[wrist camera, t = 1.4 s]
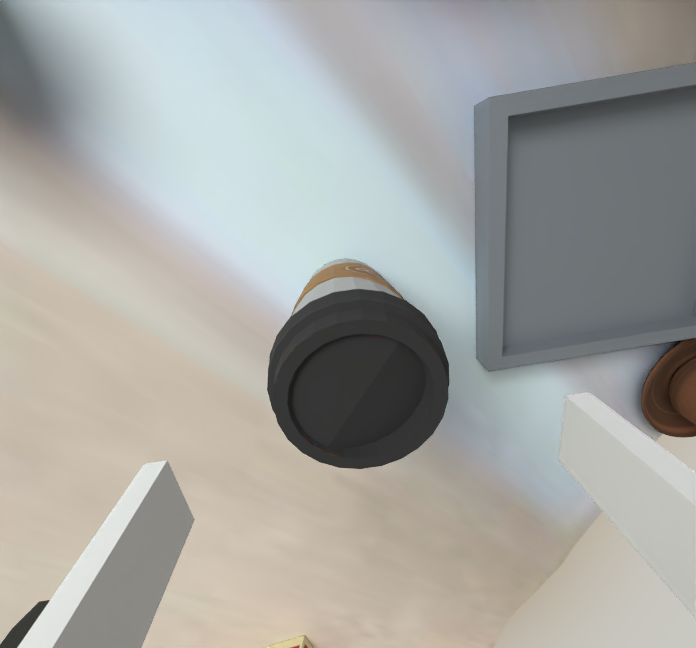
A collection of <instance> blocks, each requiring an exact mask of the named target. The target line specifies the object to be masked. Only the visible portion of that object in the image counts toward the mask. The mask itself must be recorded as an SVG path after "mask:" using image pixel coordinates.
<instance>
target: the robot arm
mask: <svg viewBox="0 0 696 648" xmlns="http://www.w3.org/2000/svg"><path fill="white" fill-rule="evenodd" d="M559 462H560V463H561V464H562V465H563V466H564V468H565V469H566V470H567V471H568V472H569V473H570V474H571V476H572V477H573V478H574V479H575V480H576V481H577V483H578V484H579V485H580V486H581V487H582V488H583V489H584V491H585V492H586V493H587V494H588V495H589V496H590V498H591V499H592V500H593V501H594V502H595V503H596V504H597V506H598V507H599V508H600V509H601V510H602V511H603V512H604V514H605V515H606V516H607V517H608V518H609V519H610V521H611V522H612V523H613V524H614V525H615V526H616V527H617V529H619V531H620V532H621V533H622V534H623V535H624V537H625V538H626V539H627V540H628V541H629V542H630V543H631V545H632V546H633V547H634V548H635V549H636V550H637V552H638V553H639V554H640V555H641V556H642V557H643V558H644V560H645V561H646V562H647V563H648V564H649V565H650V567H651V568H652V569H653V570H654V571H655V572H656V573H657V575H658V576H659V577H660V578H661V579H662V580H663V582H664V583H665V584H666V585H667V586H668V587H669V588H670V590H671V591H672V592H673V593H674V594H675V595H676V597H677V598H678V599H679V600H680V601H681V602H682V603H683V605H684V606H685V607H686V608H687V609H688V610H689V611H690V613H691V614H692V615H693V616H694V617H695V618H696V472H695V471H693V470H692V469H691V468H690V467H688V466H687V465H685V464H684V463H683V462H682V461H680V460H679V459H678V458H676V457H675V456H674V455H672V454H671V453H670V452H668V451H667V450H666V449H664V448H663V447H661V446H660V445H659V444H657V443H656V442H655V441H654V440H652V439H651V438H650V437H648V436H647V435H646V434H644V433H643V432H642V431H640V430H639V429H638V428H636V427H635V426H634V425H632V424H631V423H630V422H628V421H627V420H626V419H624V418H623V417H622V416H620V415H619V414H618V413H616V412H615V411H614V410H612V409H611V408H610V407H608V406H607V405H606V404H604V403H603V402H602V401H600V400H599V399H598V398H596V397H595V396H594V395H592V394H591V393H590V392H584V393H578V394H572V395H566V396H565V403H564V413H563V423H562V433H561V443H560V453H559ZM193 522H194V518H193V515H192V513H191V511H190V509H189V507H188V504H187V502H186V500H185V498H184V496H183V493H182V491H181V489H180V487H179V485H178V483H177V480H176V478H175V476H174V474H173V472H172V469H171V467H170V465H169V463H168V461H167V460H166V461H159V462H153V463H147V464H144V465H143V467H142V468H141V469H140V471H139V472H138V474H137V475H136V477H135V478H134V480H133V481H132V482H131V484H130V485H129V487H128V488H127V490H126V491H125V493H124V494H123V495H122V497H121V498H120V500H119V501H118V503H117V504H116V506H115V507H114V509H113V510H112V511H111V513H110V514H109V516H108V517H107V519H106V520H105V522H104V523H103V524H102V526H101V527H100V529H99V530H98V532H97V533H96V535H95V536H94V537H93V539H92V540H91V542H90V543H89V545H88V546H87V548H86V549H85V550H84V552H83V553H82V555H81V556H80V558H79V559H78V561H77V562H76V563H75V565H74V566H73V568H72V569H71V571H70V572H69V574H68V575H67V577H66V578H65V579H64V581H63V582H62V584H61V585H60V587H59V588H58V590H57V591H56V592H55V594H54V595H53V597H52V598H51V600H47V601H41V602H39V603H38V604H37V605H36V606H34V607H33V608H32V609H31V610H30V611H29V612H28V613H27V614H26V615H25V616H24V617H23V618H22V619H21V620H20V621H19V622H18V623H17V624H16V625H15V626H14V627H13V628H12V629H11V631H10V632H9V634H8V635H7V636H6V638H5V639H4V640H3V642H2V643H1V644H0V648H141V647H142V644H143V642H144V640H145V637H146V635H147V632H148V630H149V628H150V625H151V623H152V620H153V618H154V616H155V613H156V611H157V608H158V606H159V604H160V601H161V599H162V596H163V594H164V592H165V589H166V587H167V584H168V582H169V580H170V577H171V575H172V572H173V570H174V568H175V565H176V563H177V560H178V558H179V556H180V553H181V551H182V548H183V546H184V544H185V541H186V539H187V536H188V534H189V532H190V529H191V527H192V524H193Z"/></svg>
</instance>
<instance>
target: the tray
mask: <svg viewBox="0 0 696 648" xmlns="http://www.w3.org/2000/svg"><path fill="white" fill-rule="evenodd" d="M474 136H475V251H476V359H477V360H478V361H479V362H480V363H481V364H482V365H483V366H484V368H485V369H486V370H487V371H488V372H489V371H495V370H501V369H507V368H513V367H520V366H526V365H532V364H538V363H544V362H550V361H556V360H563V359H569V358H575V357H581V356H587V355H593V354H599V353H605V352H612V351H618V350H624V349H630V348H636V347H642V346H648V345H655V344H661V343H667V342H673V341H679V340H685V339H691V338H696V63H690V64H684V65H678V66H672V67H666V68H660V69H654V70H648V71H642V72H636V73H630V74H624V75H618V76H612V77H606V78H600V79H595V80H589V81H583V82H577V83H571V84H565V85H559V86H553V87H547V88H541V89H535V90H529V91H523V92H517V93H511V94H505V95H500V96H494V97H489V98H488V99H486V100H484V101H482V102H481V103H479V104H477V105H476V106H474Z"/></svg>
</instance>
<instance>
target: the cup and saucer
mask: <svg viewBox="0 0 696 648" xmlns="http://www.w3.org/2000/svg"><path fill="white" fill-rule="evenodd" d="M642 410H643V413H644V416H645V417H646V419H647V420H648V422H649V423H650V424H651V425H652V426H653V427H654V428H655V429H656V430H658V431H659V432H661V433H663V434H666V435H669V436H674V437H693V436H696V338H691V339H685V340H683V341H681V342H680V343H678V344H677V345H675V346H674V347H673V348H671V349H670V350H669V351H668V352H667V353H666V354H664V355H663V356H662V357H661V359H660V360H659V361H658V362H657V363H656V364H655V366H654V367H653V368H652V370H651V372H650V373H649V375H648V377H647V379H646V381H645V384H644V387H643V392H642Z"/></svg>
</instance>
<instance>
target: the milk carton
mask: <svg viewBox="0 0 696 648" xmlns="http://www.w3.org/2000/svg"><path fill="white" fill-rule="evenodd" d="M265 648H314V647H313V646H312V645H311V643H310V642H309V641H308V639H307V638H306V637H305V635H303V636H300V637H297V638H293V639H290V640H287V641H283V642H280V643H277V644H274V645H271V646H268V647H265Z"/></svg>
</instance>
